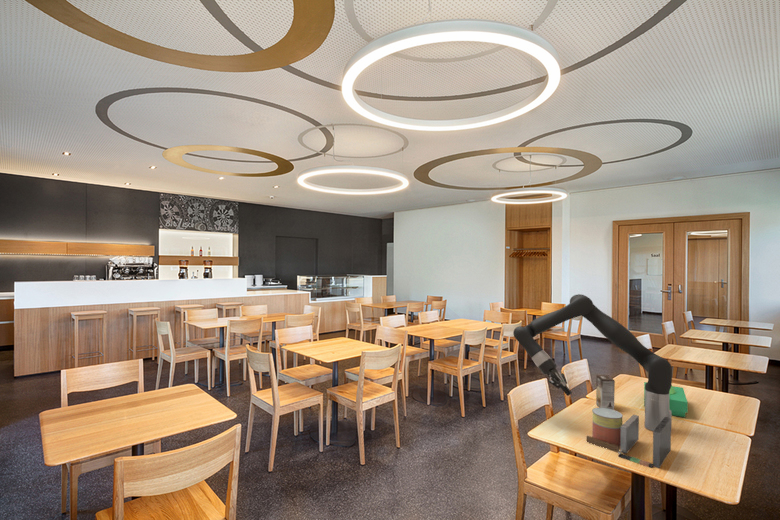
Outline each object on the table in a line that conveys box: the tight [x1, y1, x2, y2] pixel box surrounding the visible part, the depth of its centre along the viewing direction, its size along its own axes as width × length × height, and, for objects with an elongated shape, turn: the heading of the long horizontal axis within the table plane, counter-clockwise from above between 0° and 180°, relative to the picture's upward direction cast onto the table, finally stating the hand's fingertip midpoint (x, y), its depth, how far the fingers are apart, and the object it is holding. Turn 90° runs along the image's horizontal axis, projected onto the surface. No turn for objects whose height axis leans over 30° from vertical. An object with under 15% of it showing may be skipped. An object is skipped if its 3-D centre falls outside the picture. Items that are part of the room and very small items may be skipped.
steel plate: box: [617, 414, 640, 455], centre depth 156 cm, size 2×21×10 cm, turn 134°
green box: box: [643, 381, 689, 418], centre depth 200 cm, size 18×12×35 cm
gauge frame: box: [586, 417, 672, 469], centre depth 157 cm, size 26×22×13 cm
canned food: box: [591, 407, 624, 448], centre depth 163 cm, size 11×11×12 cm
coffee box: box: [595, 374, 616, 410], centre depth 201 cm, size 9×6×16 cm
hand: (569, 394), depth 174 cm, fingers closed
